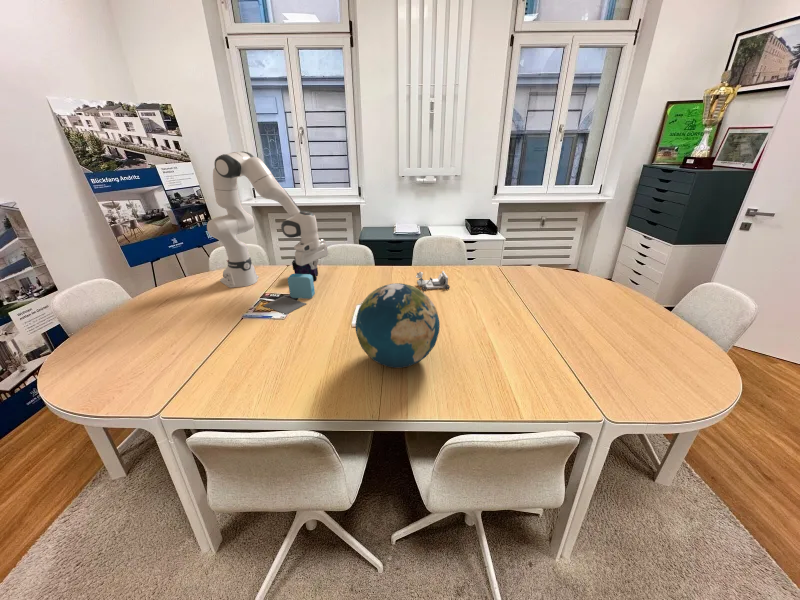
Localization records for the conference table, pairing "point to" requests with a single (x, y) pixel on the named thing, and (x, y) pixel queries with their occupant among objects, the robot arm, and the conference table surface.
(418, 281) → the toy car
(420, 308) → the globe
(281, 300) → the mat
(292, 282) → the light blue flat block
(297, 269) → the energy cube
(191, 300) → the conference table surface
